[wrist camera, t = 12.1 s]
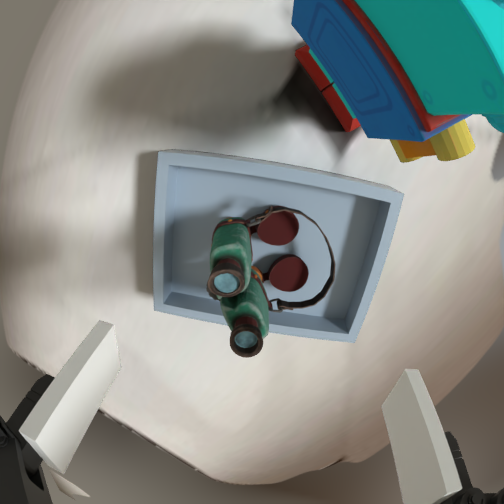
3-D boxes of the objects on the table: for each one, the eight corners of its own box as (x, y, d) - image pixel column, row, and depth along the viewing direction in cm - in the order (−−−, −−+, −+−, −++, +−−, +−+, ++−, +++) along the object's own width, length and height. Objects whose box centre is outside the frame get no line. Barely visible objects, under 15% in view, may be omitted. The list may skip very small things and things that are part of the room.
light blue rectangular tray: (172, 149, 25) (158, 151, 22) (389, 186, 25) (404, 193, 21) (165, 292, 31) (154, 310, 28) (348, 322, 30) (354, 342, 27)
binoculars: (363, 342, 18) (220, 375, 19) (327, 276, 28) (228, 300, 29) (351, 215, 15) (172, 259, 16) (311, 186, 25) (200, 213, 26)
